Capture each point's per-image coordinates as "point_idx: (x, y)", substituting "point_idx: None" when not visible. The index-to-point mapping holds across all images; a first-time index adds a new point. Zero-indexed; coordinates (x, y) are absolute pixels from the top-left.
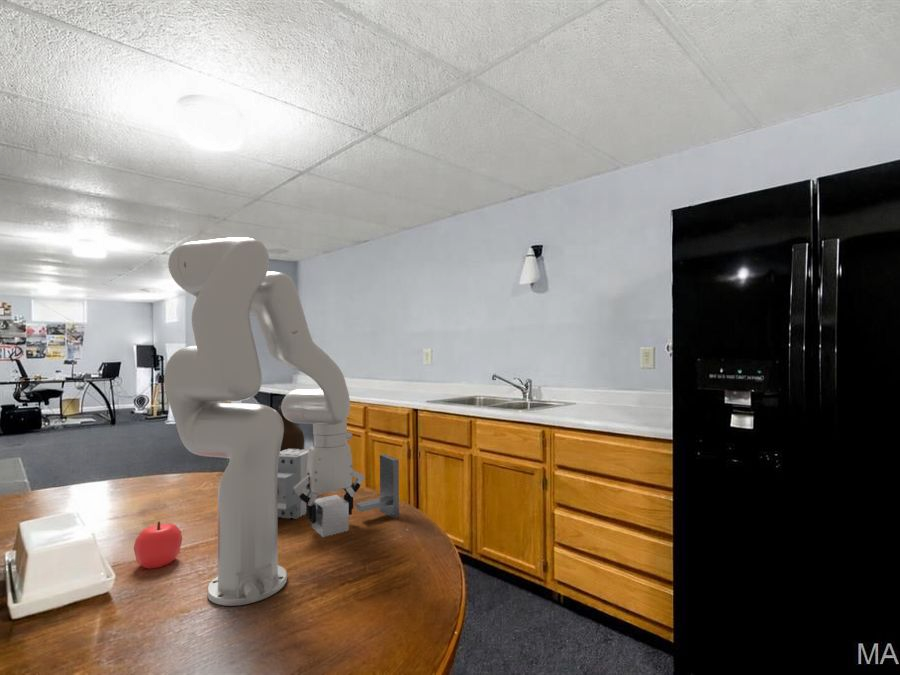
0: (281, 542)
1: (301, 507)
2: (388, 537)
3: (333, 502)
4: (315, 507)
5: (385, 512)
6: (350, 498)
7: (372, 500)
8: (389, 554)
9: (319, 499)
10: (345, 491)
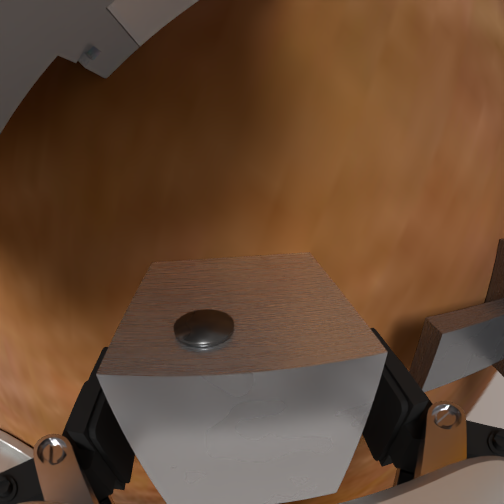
0: (26, 345)
1: (132, 18)
2: (362, 452)
3: (260, 483)
4: (128, 475)
5: (492, 288)
6: (384, 461)
7: (501, 326)
8: (303, 500)
9: (173, 407)
10: (420, 442)
